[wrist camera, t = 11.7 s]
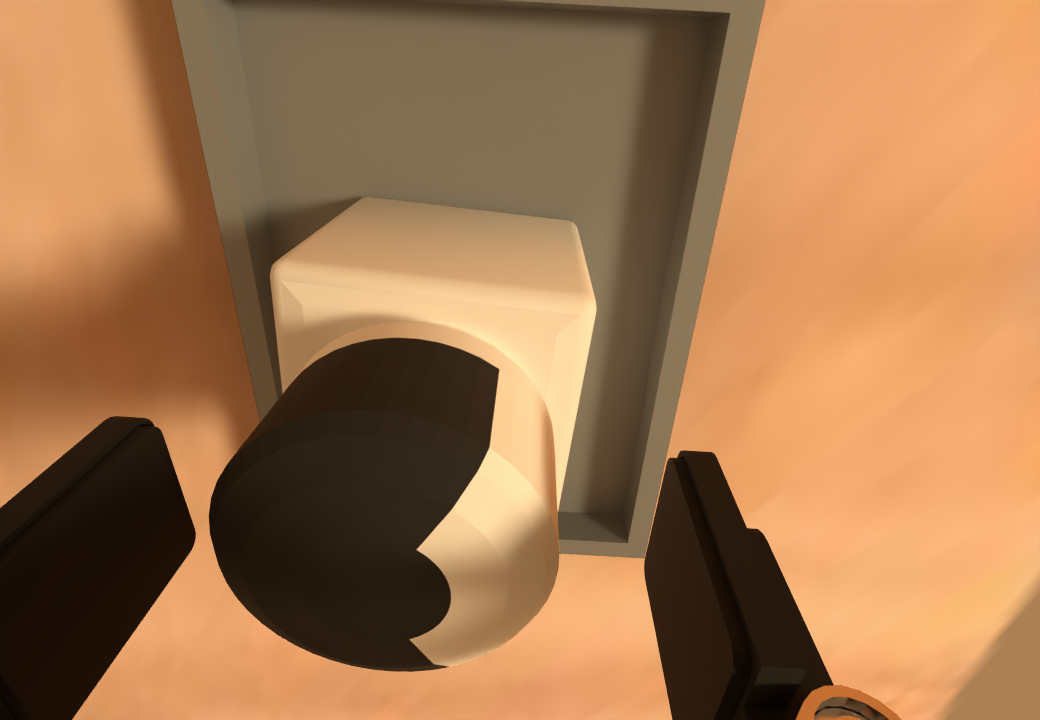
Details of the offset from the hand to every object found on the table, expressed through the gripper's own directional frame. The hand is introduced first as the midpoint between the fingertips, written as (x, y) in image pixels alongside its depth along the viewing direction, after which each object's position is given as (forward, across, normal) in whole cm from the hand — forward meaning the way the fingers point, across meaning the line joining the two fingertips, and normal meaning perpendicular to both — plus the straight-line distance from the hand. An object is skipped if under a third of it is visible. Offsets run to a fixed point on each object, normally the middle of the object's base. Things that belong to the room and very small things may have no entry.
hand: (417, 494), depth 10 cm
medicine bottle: (+10, 0, +1) cm, 10 cm away
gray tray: (+11, 0, +1) cm, 11 cm away
